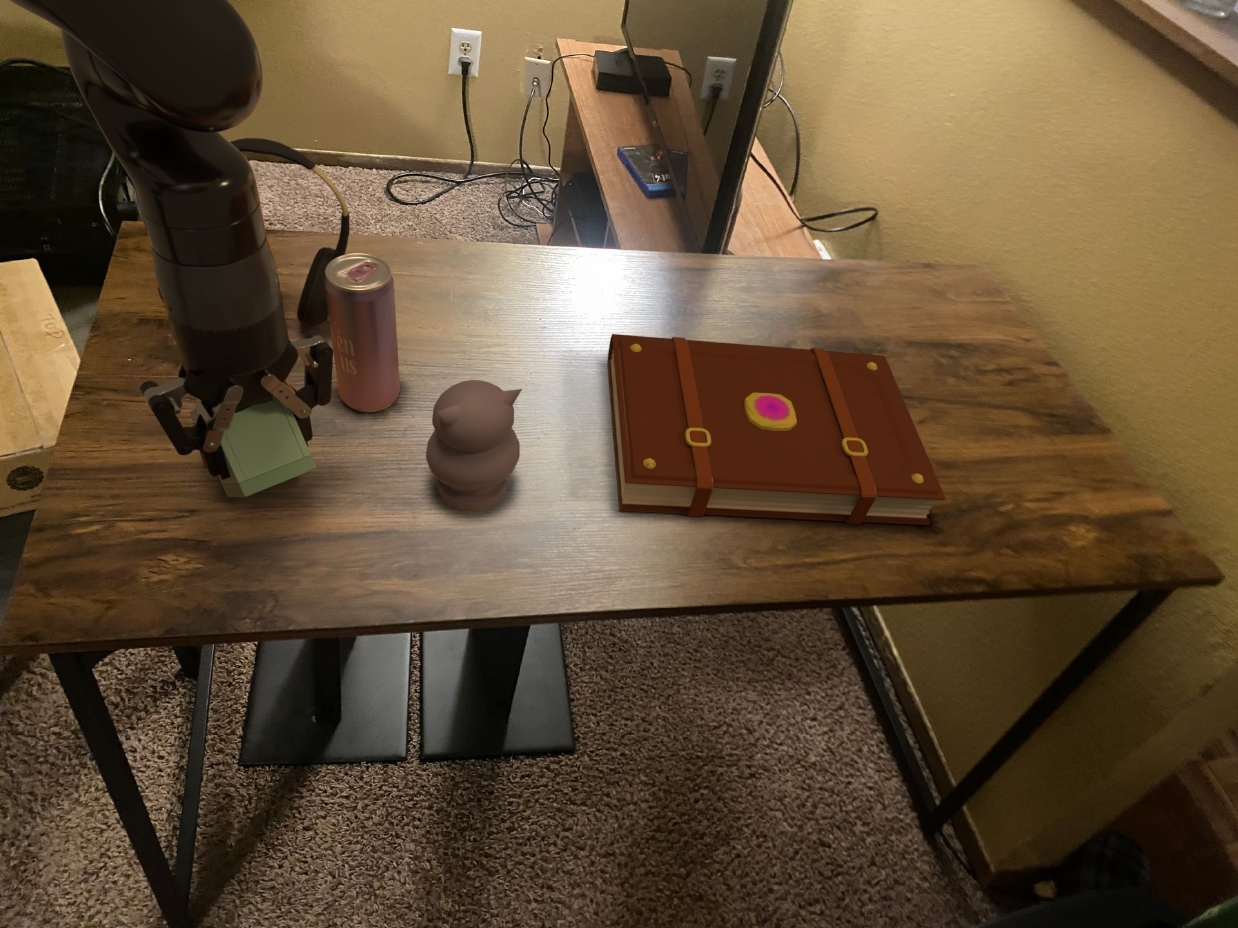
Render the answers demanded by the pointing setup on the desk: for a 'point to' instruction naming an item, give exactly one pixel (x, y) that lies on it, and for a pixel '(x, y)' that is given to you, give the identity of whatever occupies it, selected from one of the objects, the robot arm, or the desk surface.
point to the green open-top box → (263, 449)
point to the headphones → (313, 293)
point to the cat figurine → (473, 444)
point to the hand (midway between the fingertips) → (261, 456)
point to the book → (764, 433)
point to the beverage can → (363, 330)
